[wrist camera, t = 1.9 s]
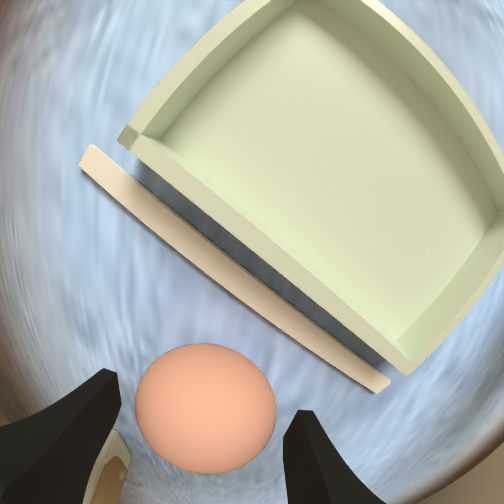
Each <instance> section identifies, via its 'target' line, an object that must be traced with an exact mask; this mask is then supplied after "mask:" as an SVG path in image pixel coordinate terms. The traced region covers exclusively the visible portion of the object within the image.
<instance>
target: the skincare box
mask: <svg viewBox="0 0 504 504" xmlns="http://www.w3.org/2000/svg"><path fill="white" fill-rule="evenodd" d="M131 459H132V456H131V454H130V452H129V450H128V448H127V447H126V445H125V443H124V441H123V439H122V438H121V436H120V434H119V432H118V431H117V430H115V429H112V430H111V432H110V434H109V436H108V438H107V440H106V442H105V444H104V446H103V448H102V450H101V452H100V454H99V456H98V458H97V460H96V462H95V464H94V466H93V469H92V472H91V475H90V478H89V481H88V485H87V488H86V492H85V496H84V499H83V504H117V502H118V499H119V496H120V492H121V489H122V486H123V483H124V480H125V477H126V474H127V471H128V468H129V465H130V462H131Z"/></svg>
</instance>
